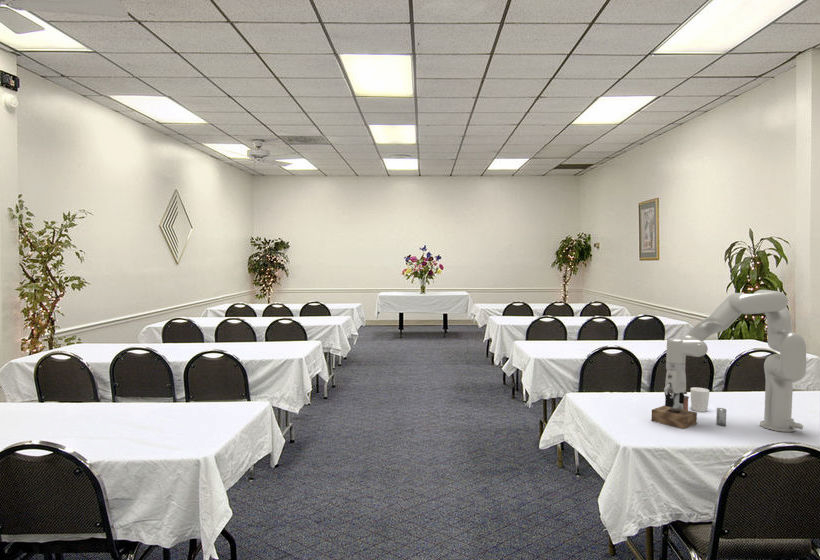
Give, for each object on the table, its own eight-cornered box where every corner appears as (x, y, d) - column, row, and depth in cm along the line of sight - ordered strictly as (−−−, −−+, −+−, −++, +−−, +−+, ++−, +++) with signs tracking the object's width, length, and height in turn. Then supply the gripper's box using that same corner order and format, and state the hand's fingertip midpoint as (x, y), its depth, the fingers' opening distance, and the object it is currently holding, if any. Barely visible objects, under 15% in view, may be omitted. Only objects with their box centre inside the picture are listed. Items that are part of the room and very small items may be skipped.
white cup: (707, 413, 243) (708, 392, 242) (688, 410, 247) (689, 389, 247) (709, 409, 249) (710, 389, 249) (691, 406, 254) (692, 386, 253)
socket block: (696, 423, 227) (696, 412, 227) (683, 429, 219) (684, 417, 219) (664, 416, 238) (665, 405, 238) (651, 420, 231) (651, 409, 230)
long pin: (679, 422, 228) (681, 391, 228) (676, 424, 226) (677, 392, 226) (671, 420, 231) (672, 389, 231) (667, 421, 229) (668, 390, 229)
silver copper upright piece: (669, 410, 246) (669, 390, 246) (669, 409, 249) (669, 388, 249) (688, 413, 243) (689, 392, 242) (688, 411, 246) (688, 390, 245)
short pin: (727, 425, 225) (727, 409, 225) (724, 426, 223) (724, 410, 223) (718, 423, 228) (718, 407, 228) (715, 424, 226) (715, 408, 226)
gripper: (674, 370, 219) (673, 410, 220) (693, 365, 230) (692, 403, 231) (657, 367, 225) (656, 406, 226) (676, 362, 236) (675, 399, 237)
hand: (674, 404), depth 228 cm, fingers open, 9 cm apart
